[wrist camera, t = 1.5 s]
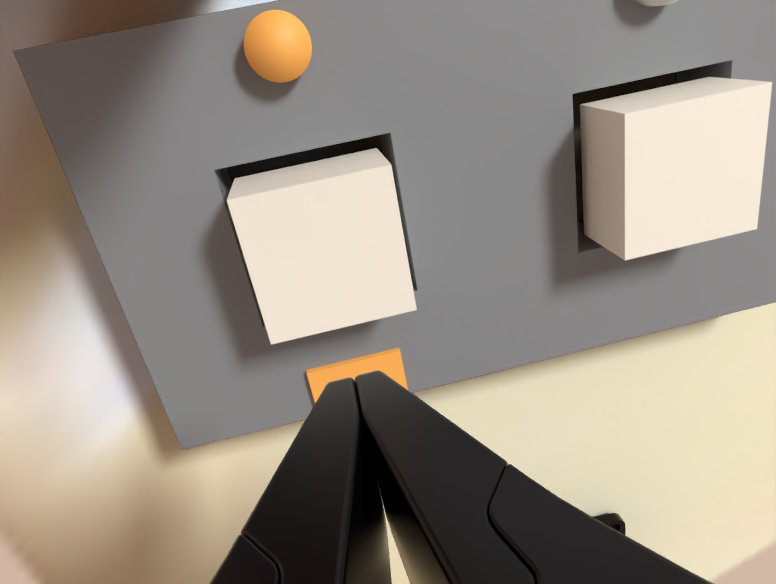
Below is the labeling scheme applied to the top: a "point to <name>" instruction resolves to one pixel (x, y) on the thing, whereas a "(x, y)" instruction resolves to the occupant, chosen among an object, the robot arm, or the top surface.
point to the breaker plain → (674, 164)
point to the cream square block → (323, 244)
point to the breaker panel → (411, 177)
